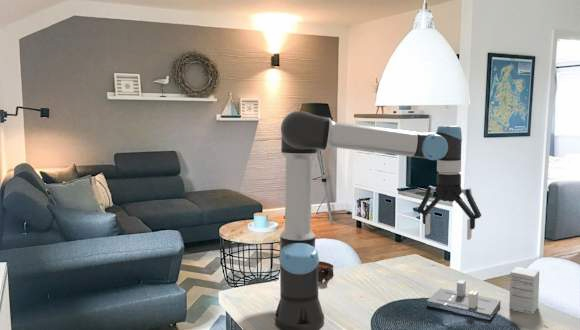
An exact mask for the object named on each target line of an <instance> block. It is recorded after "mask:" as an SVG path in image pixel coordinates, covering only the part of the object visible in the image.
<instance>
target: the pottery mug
mask: <svg viewBox="0 0 580 330" xmlns="http://www.w3.org/2000/svg"><path fill="white" fill-rule="evenodd" d="M333 277H334V265H333V264H331V263H329V262H325V261H322V260H321V261H320V260H319V263H318V284H323V281H325V282H328V281H330V279H331V278H333Z"/></svg>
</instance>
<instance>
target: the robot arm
mask: <svg viewBox="0 0 580 330" xmlns="http://www.w3.org/2000/svg"><path fill="white" fill-rule="evenodd" d="M280 133H281V139H280V141H281V148H280V149H281V151H280V152H281V154H282V156H284V158H285V199H284V201H285V202H284V204H285V205H284V207H285V208H284V209H285V210H284V211H285V212H284V213H285V214H284V216H285V217H284V230H283V231H282V232H281V233H280V238H279V240H280V244H279V246H280V247H279V249H280V250H279V259H278V260H279V270H280V271H279V274H280V275H279V279H280V282H279V283H280V284H279V287H280V288H279V289H280V290H279V291H280V292H279V293H280V295H279V296H280V298H279V302H278V303H277V304H278V305H277V307H276V311H275V315H274V324H275V326H276V327H277V328H278V329H279V330H319V329H321V328H323V327H324V324H325V314H324V312H323V307H322V306H321V305H322V304H321V303H320V299H319V283H318V263H319V261H320V259H319V258H320V257H319V252H318V250H317V248H316V234H315V233H314V232H313V231H312V227H311V226H312V194H313V193H312V192H313V191H312V188H313V187H312V184H313V175H312V174H313V159H314V157H315V156H317V154H318V150H324V151H325V150H327V149H329V148H337V149H343V150H353V151H361V152H369V153H379V154H387V155H395V156H403V157H411V158H419V159H427V160H429V161H436V172H438V173H436V186H432V185H428V186H427V187H426V193H425V194H424V197H423V198H422V200H421V202H420V204H419V207H418V208H417V209H416V210H417V213H418V214H419V213H420V214H422V224H423V225H425V235H426V236H427V235H429V234H431V214H429V213H430V212H431V211H432V210H433V209H434V208H435V206H436V205H438V203H439V202H440V201H441V200H442V201H444V202H447V201H449V202H453V203H454V202H455V203H456V204H458V206H459V207H460V208H461V209H462V211H463V212H464V213H465V214H466V216H468V219H467V221H466V224H467V225H466V226H467V228H466V240H468V241H469V240H471V239H472V238H473V237H472V234H473V233H472V230H475V229H476V219H480V218H481V217H482V213H481V212H480V209H479V207H478V205H477V203H476V201H475V199H474V197H473V194H472V189H471V188H469V187H468V188H462V175H461V171H462V145H463V143H462V141H463V137H462V134H463V133H462V128H461V126H458V125H439V126H438V127H437V130H436V131H433V132H423V131H422V132H417V131H412V130H411V131H410V130H403V129H394V128H386V127H379V126H370V125H363V124H353V123H347V122H346V123H345V122H336V121H334V120H332V119H331V117H327V116H320V115H316V114H313V113H310V112H307V111H302V110H301V111H300V110H298V111H295V110H294V111H293V112H290V113H289V114H287V115H286V116H285V117H284V119H283V120H282V123H281V125H280ZM433 193H436V194H437V196H436V197H435V198H434V199H433V201H431V203H430V204H429V205H427V204H428V201H429V200H430V198H431V197H432V194H433ZM462 194H463V195H464V196H465V197H466V199H467V202H468V204H469V206H470V207H469V206H468V205H467V204H466V202H465V201H464V200H463V197H461V195H462ZM426 205H427V207H426ZM425 207H426V208H425Z"/></svg>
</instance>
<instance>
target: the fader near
mask: <svg viewBox="0 0 580 330" xmlns="http://www.w3.org/2000/svg"><path fill="white" fill-rule="evenodd" d="M468 294H469V300H468V307H469V308H474V309H475V308H476V307H477V305H478V296H479V291H478V290H477V291H476V290H470V291H469V292H468Z"/></svg>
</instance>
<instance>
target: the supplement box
mask: <svg viewBox="0 0 580 330" xmlns="http://www.w3.org/2000/svg"><path fill="white" fill-rule="evenodd" d="M513 268H514V269H512V271H510V276H509V277H510V279H509V280H510V281H509V282H510V283H509V306H508V307H509V309H510V310H511V311H516V312H519V313H520V312H521V313H525V314H529V315H534V314H535V312H536V311H537V309H538V308H539V293H540V292H539V291H540V288H539V287H540V270H538V269H533V268H526V267H521V266H515V267H513Z"/></svg>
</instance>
